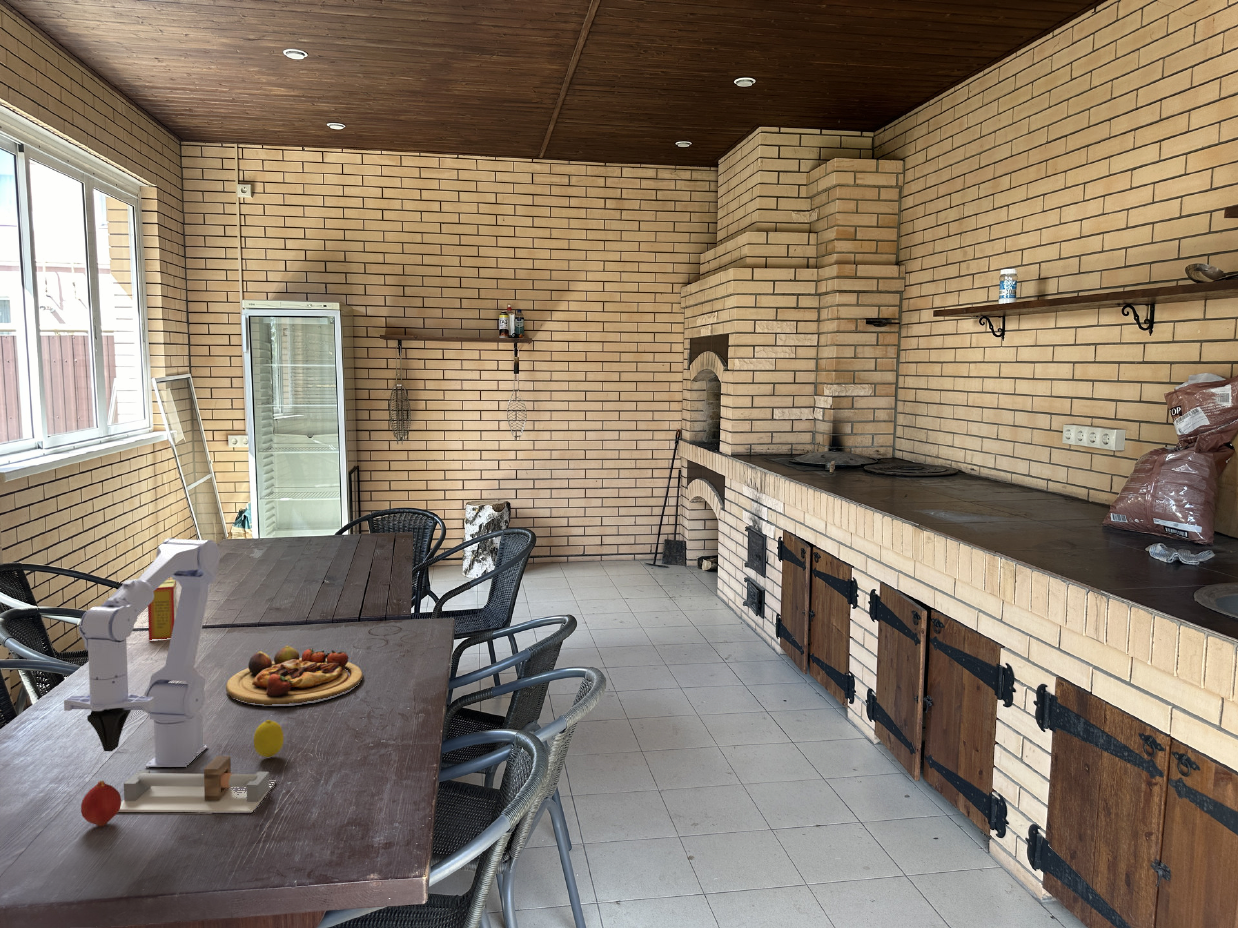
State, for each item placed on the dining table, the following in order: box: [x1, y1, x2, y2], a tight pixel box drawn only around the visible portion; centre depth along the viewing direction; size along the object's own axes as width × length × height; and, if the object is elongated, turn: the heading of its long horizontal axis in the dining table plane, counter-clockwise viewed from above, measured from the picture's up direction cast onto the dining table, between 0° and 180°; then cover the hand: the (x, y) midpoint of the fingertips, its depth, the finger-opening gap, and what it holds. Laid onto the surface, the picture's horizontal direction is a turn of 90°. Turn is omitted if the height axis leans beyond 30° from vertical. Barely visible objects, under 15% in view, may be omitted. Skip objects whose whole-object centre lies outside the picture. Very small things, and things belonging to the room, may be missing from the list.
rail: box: [118, 769, 274, 812], centre depth 150 cm, size 24×11×5 cm, turn 92°
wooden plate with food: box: [225, 645, 364, 705], centre depth 206 cm, size 32×32×8 cm
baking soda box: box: [147, 579, 178, 641], centre depth 241 cm, size 10×6×16 cm
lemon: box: [253, 719, 285, 758], centre depth 165 cm, size 6×6×8 cm
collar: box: [203, 755, 232, 801], centre depth 149 cm, size 2×5×6 cm, turn 2°
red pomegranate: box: [80, 780, 122, 827], centre depth 139 cm, size 6×6×8 cm
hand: (111, 748), depth 145 cm, fingers closed
